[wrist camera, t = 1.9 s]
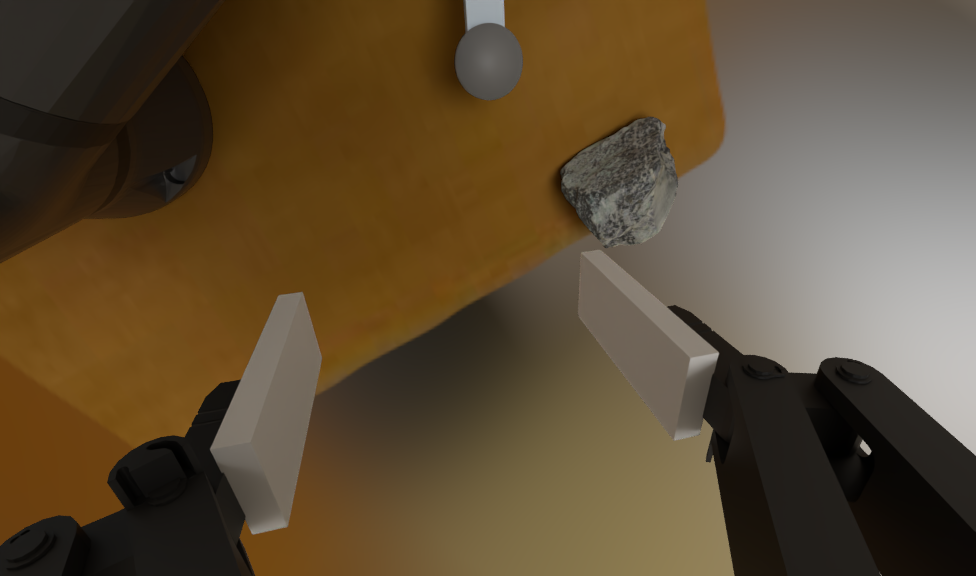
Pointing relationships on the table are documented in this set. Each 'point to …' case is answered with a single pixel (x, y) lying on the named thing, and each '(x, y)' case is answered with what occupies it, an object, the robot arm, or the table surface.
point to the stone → (623, 184)
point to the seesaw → (487, 51)
